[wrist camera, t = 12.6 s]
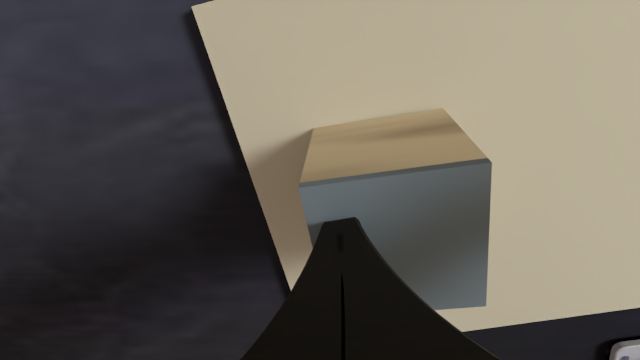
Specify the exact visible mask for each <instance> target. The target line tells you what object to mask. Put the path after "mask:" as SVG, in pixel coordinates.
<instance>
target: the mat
mask: <svg viewBox="0 0 640 360" xmlns="http://www.w3.org/2000/svg"><path fill="white" fill-rule="evenodd" d="M192 10H193V13H194V16H195V19H196V21H197V24H198V27H199V30H200V33H201V36H202V39H203V41H204V44H205V47H206V50H207V53H208V56H209V59H210V61H211V64H212V67H213V70H214V73H215V76H216V79H217V81H218V84H219V87H220V90H221V93H222V96H223V99H224V101H225V104H226V107H227V110H228V113H229V116H230V118H231V121H232V124H233V127H234V130H235V133H236V136H237V138H238V141H239V144H240V147H241V150H242V153H243V156H244V158H245V161H246V164H247V167H248V170H249V173H250V176H251V178H252V181H253V184H254V187H255V190H256V193H257V196H258V198H259V201H260V204H261V207H262V210H263V213H264V216H265V218H266V221H267V224H268V227H269V230H270V233H271V236H272V238H273V241H274V244H275V247H276V250H277V253H278V256H279V258H280V261H281V264H282V267H283V270H284V273H285V275H286V278H287V281H288V284H289V287H290V290H292V288H293V287H294V285H295V283H296V281H297V279H298V278H299V276H300V274H301V272H302V270H303V268H304V266H305V264H306V262H307V260H308V258H309V256H310V254H311V252H312V249H313V248H312V244H311V239H310V235H309V231H308V227H307V223H306V218H305V214H304V210H303V206H302V202H301V198H300V193H299V189H298V187H299V183H300V179H301V175H302V171H303V167H304V164H305V160H306V156H307V152H308V148H309V144H310V140H311V137H312V133H313V129H314V128H318V127H324V126H331V125H337V124H344V123H350V122H357V121H363V120H369V119H376V118H382V117H389V116H395V115H402V114H408V113H415V112H421V111H428V110H434V109H441V108H443V109H444V110H445V111H446V112H447V113H448V114H449V115H450V116H451V118H452V119H453V120H454V121H455V122H456V123H457V124H458V125H459V126H460V128H461V129H462V130H463V131H464V132H465V133H466V134H467V135H468V136H469V138H470V139H471V140H472V141H473V142H474V143H475V144H476V145H477V146H478V148H479V149H480V150H481V151H482V152H483V153H484V154H485V155H486V157H487V158H488V159H489V160H490V161H491V162H492V175H491V200H490V224H489V249H488V273H487V298H486V306H484V307H470V308H457V309H443V310H435V311H436V312H437V313H438V314H439V315H441V316H442V317H443V318H445V319H446V320H447V321H448V322H450V323H451V324H452V325H453V326H455V327H456V328H457V329H459V330H460V331H461V332H464V331H471V330H478V329H486V328H493V327H500V326H508V325H515V324H522V323H530V322H537V321H544V320H552V319H559V318H566V317H574V316H581V315H588V314H596V313H603V312H610V311H617V310H625V309H632V308H639V307H640V0H214V1H210V2H207V3H203V4H199V5H195V6H192Z"/></svg>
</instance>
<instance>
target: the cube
mask: <svg viewBox="0 0 640 360" xmlns="http://www.w3.org/2000/svg"><path fill="white" fill-rule="evenodd" d="M491 175H492V162H491V161H490V160H489V159H488V158H487V157H486V155H485V154H484V153H483V152H482V151H481V150H480V149H479V148H478V146H477V145H476V144H475V143H474V142H473V141H472V140H471V139H470V138H469V136H468V135H467V134H466V133H465V132H464V131H463V130H462V129H461V128H460V126H459V125H458V124H457V123H456V122H455V121H454V120H453V119H452V118H451V116H450V115H449V114H448V113H447V112H446V111H445V110H444V109H443V108H441V109H434V110H428V111H421V112H415V113H408V114H402V115H395V116H389V117H382V118H376V119H369V120H363V121H357V122H350V123H344V124H337V125H331V126H324V127H318V128H314V129H313V133H312V137H311V140H310V144H309V148H308V152H307V156H306V160H305V164H304V167H303V171H302V175H301V179H300V183H299V187H298V189H299V193H300V198H301V202H302V206H303V210H304V214H305V218H306V223H307V227H308V231H309V235H310V239H311V244H312V248H313V247H314V245H315V242H316V240H317V237H318V235H319V232H320V229H321V226H322V225H323V223H324V222H328V221H334V220H340V219H346V218H351V217H356V218H357V219H359V221H360V223H361V226H362V228H363V229H364V231H365V233H366V235H367V236H368V238H369V239H370V241H371V242H372V244H373V245H374V247H375V248H376V249H377V251H378V252H379V253H380V255H381V256H382V257H383V258H384V260H385V261H386V262H387V263H388V265H389V266H390V267H391V268H392V269H393V270H394V271H395V273H396V274H397V275H398V276H399V277H400V278H401V279H402V280H403V281H404V282H405V283H406V284H407V285H408V286H409V287H410V288H411V289H412V290H413V291H414V292H415V293H416V294H417V295H418V296H419V297H420V298H421V299H422V300H423V301H424V302H426V303H427V304H428V305H429V306H430V307H431V308H432V309H433V310H443V309H457V308H470V307H484V306H486V298H487V273H488V249H489V224H490V200H491Z"/></svg>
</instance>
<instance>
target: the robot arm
mask: <svg viewBox="0 0 640 360" xmlns="http://www.w3.org/2000/svg"><path fill="white" fill-rule="evenodd" d="M240 360H501V359H499V358H498V357H496V356H495V355H493V354H492V353H490V352H489V351H487V350H486V349H485V348H483V347H482V346H480V345H479V344H477V343H476V342H475V341H473V340H472V339H470V338H469V337H468V336H466V335H465V334H464V333H462V332H461V331H460V330H459V329H457V328H456V327H455V326H453V325H452V324H451V323H450V322H448V321H447V320H446V319H445V318H443V317H442V316H441V315H439V314H438V313H437V312H436V311H435V310H433V309H432V308H431V307H430V306H429V305H428V304H427V303H426V302H424V301H423V300H422V299H421V298H420V297H419V296H418V295H417V294H416V293H415V292H414V291H413V290H412V289H411V288H410V287H409V286H408V285H407V284H406V283H405V282H404V281H403V280H402V279H401V278H400V277H399V276H398V275H397V274H396V273H395V271H394V270H393V269H392V268H391V267H390V266H389V265H388V263H387V262H386V261H385V260H384V258H383V257H382V256H381V255H380V253H379V252H378V251H377V249H376V248H375V247H374V245H373V244H372V242H371V241H370V239H369V238H368V236H367V235H366V233H365V231H364V229H363V228H362V226H361V223H360V221H359V219H357V218H356V217H351V218H346V219H340V220H334V221H328V222H324V223H323V225H322V226H321V229H320V232H319V235H318V237H317V240H316V242H315V245H314V247H313V249H312V252H311V254H310V256H309V258H308V260H307V262H306V264H305V266H304V268H303V270H302V272H301V274H300V276H299V278H298V279H297V281H296V283H295V285H294V287H293V288H292V290H291V292H290V294H289V295H288V297H287V298H286V300H285V302H284V303H283V305H282V306H281V308H280V309H279V311H278V312H277V314H276V315H275V316H274V318H273V319H272V321H271V322H270V323H269V325H268V326H267V327H266V329H265V330H264V331H263V333H262V334H261V335H260V337H259V338H258V339H257V341H256V342H255V343H254V344H253V345H252V347H251V348H250V349H249V350H248V351H247V353H246V354H245V355H244V356H243V357H242V358H241V359H240ZM609 360H640V339H638V340H630V341H622V342H618V343H616V344H614V345H613V346H612V349H611V353H610V358H609Z"/></svg>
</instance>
